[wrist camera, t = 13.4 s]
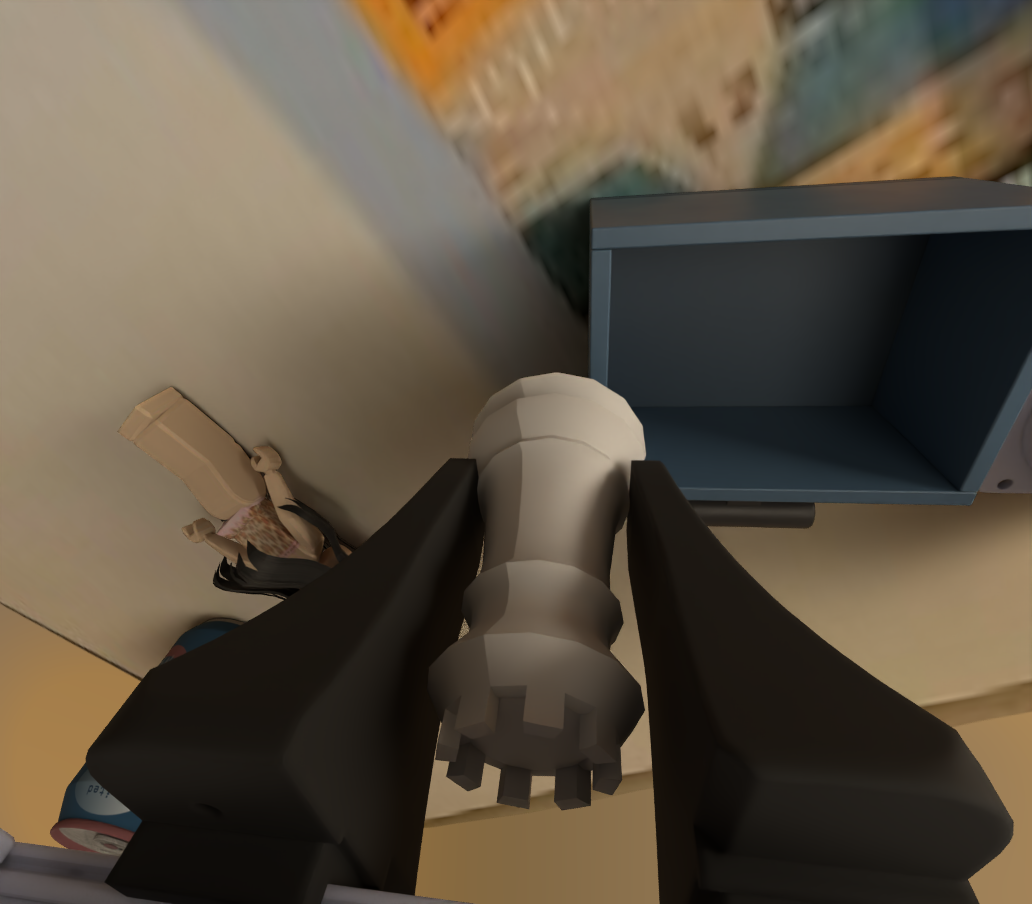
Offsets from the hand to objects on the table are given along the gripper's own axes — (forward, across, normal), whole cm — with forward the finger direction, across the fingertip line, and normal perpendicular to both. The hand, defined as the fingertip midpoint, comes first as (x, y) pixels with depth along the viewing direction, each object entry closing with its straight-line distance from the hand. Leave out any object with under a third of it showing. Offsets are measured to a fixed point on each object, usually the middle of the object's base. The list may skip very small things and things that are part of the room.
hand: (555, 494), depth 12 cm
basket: (+10, -6, +1) cm, 12 cm away
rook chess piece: (+2, 0, 0) cm, 2 cm away
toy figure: (+10, +15, +9) cm, 21 cm away
